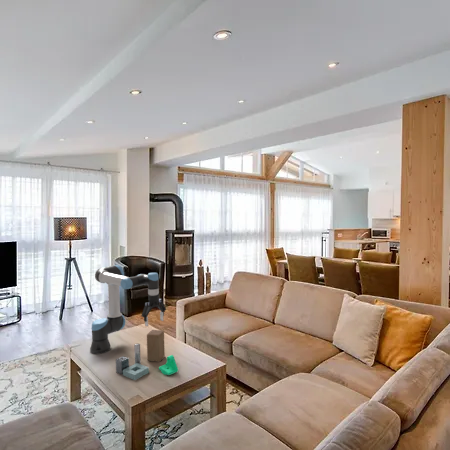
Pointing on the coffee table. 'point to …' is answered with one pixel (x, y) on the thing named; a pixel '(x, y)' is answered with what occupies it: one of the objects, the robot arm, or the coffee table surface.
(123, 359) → the square bit
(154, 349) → the wooden block
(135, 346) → the cylinder
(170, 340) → the coffee table surface
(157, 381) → the coffee table surface
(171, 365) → the camera mount
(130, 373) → the socket plate
